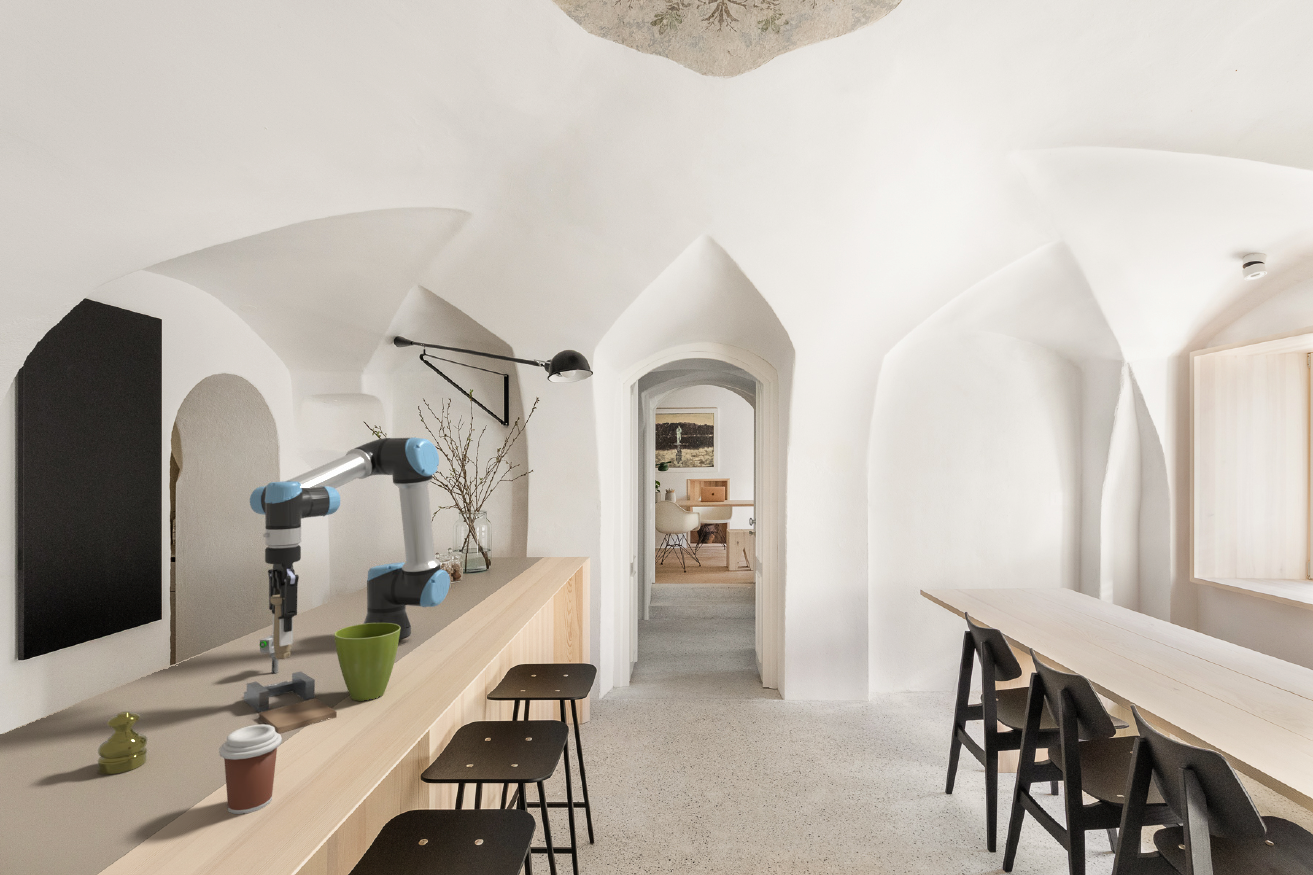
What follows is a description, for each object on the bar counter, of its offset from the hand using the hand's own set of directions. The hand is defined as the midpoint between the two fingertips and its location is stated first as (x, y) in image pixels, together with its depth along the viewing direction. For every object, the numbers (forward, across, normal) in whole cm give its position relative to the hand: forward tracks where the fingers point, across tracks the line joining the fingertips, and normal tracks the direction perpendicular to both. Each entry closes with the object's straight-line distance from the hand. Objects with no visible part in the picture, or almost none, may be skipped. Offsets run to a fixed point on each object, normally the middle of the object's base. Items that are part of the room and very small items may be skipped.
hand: (282, 642), depth 159 cm
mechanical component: (+14, -23, +6) cm, 27 cm away
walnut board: (+14, +14, -1) cm, 20 cm away
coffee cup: (+14, +47, -20) cm, 53 cm away
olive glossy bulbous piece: (+14, +14, -32) cm, 38 cm away
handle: (+4, 0, 0) cm, 4 cm away
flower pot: (+14, +12, +15) cm, 24 cm away
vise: (+14, -2, 0) cm, 14 cm away
